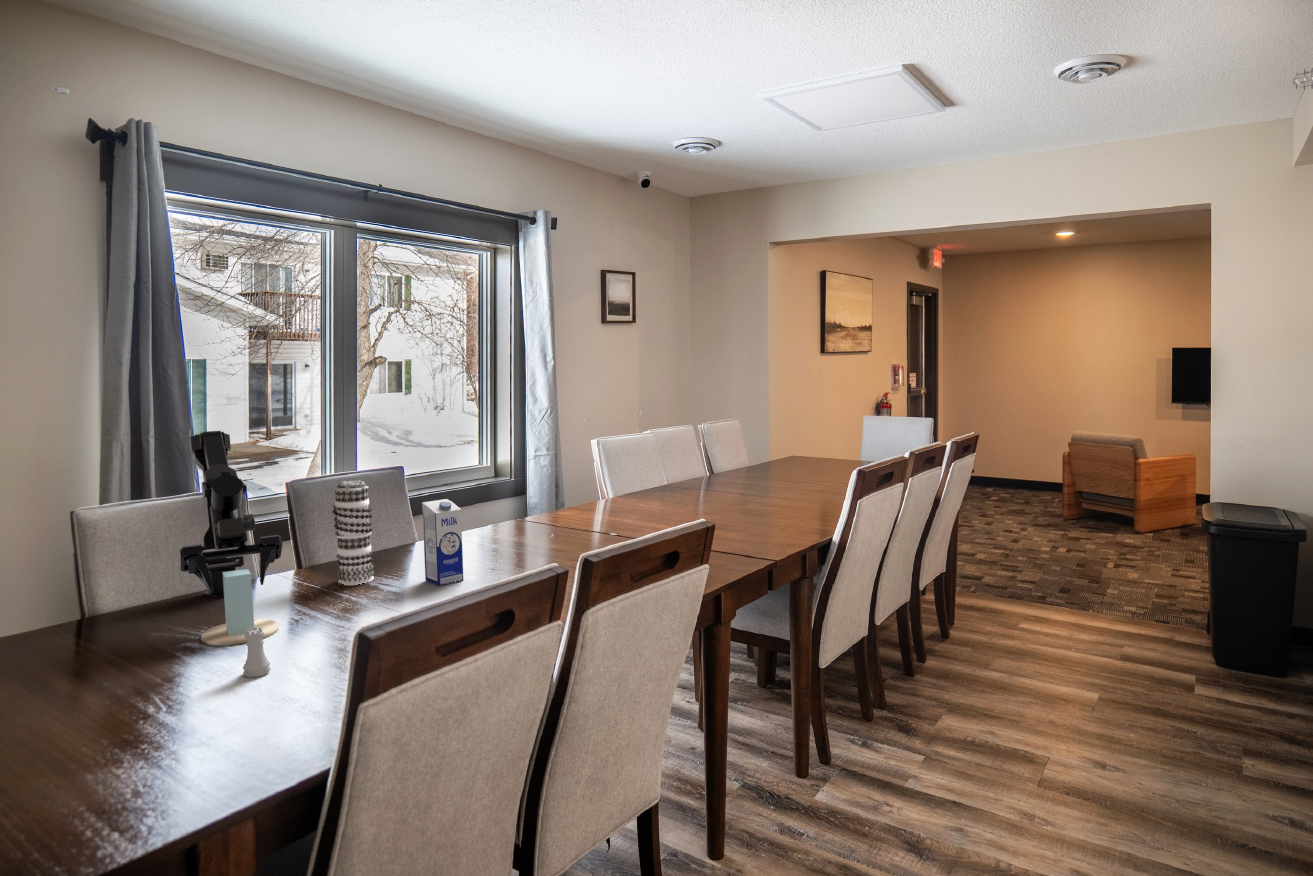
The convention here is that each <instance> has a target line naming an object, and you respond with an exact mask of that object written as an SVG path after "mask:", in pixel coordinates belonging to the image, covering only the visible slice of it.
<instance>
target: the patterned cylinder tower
mask: <svg viewBox="0 0 1313 876" xmlns="http://www.w3.org/2000/svg"><path fill="white" fill-rule="evenodd" d="M369 488H370V486H368V485H367V484H366V482H364V481H362V480H357V479H356V480H355V479H354V480H351V479H350V480H344V481H341V482H339V483H338V484H337V486H336V487H335V488H334V489H333V490H334V493H335V494H334V495H335V496H334V497H335V500H334V504H333V505H332V508H333V510H332V514H334V517H333V522H334V525H333V528H335V530H336V531H335V533H334V536H335V537H336V538H337V548H336V549H337V555H336V556H335V557H336V558H337V561H336V564H337V565H338V567H337V568H336V571H337V573H338V574H337V575H336V577H337V578H338V581H337V583H338V582H339V583H342V584H344V585H343V586H358V584H360V585H363V584H362V583H365V584H368V583H367V582H369V583H371V582H373V581H374V580H373V579H375V577H374V574H375V571H374V570H373V569H374V567H375V566H374V565H373V561H374V558H373V557H372V556H373V554H374V552H373V551H372V544H371V537H370V535H372V532H373V528H371V526H372V525H373V522H371V521H370V520H369V519H371V518H373V514H371V513H370V512H372V510H373V508H372V507H369V505H370V498H369V497H368V496H369V492H368V489H369ZM372 580H373V581H372ZM370 581H371V582H370ZM339 583H338V584H339Z"/></svg>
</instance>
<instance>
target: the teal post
mask: <svg viewBox="0 0 1313 876" xmlns="http://www.w3.org/2000/svg"><path fill="white" fill-rule="evenodd" d="M223 586H224V596H223V598H224V599H223V600H224V601H223V602H224V611H225V612H224V614H225V624H226V630H227V632H228V635H229V636H233V635H238V634H244V633H246V631H247V630H249V629H252V631H253V630H254V615H255V614H254V603H253V599H254V598H253V587H252V586H253V585H252V573H251V572H250V570H249V568H244V569H243V568H242V569H236V570H235V571H228V572H223Z"/></svg>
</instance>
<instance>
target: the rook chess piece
mask: <svg viewBox="0 0 1313 876" xmlns="http://www.w3.org/2000/svg"><path fill="white" fill-rule="evenodd" d="M264 634H265V633H264V632H263V631H262V628H259V630H257V628H254V630H253V631H252V629H249V630H247V631H246V635H245V636H244V637H245V638H246V639H247V641H248V643H245V645H246V646H247V656H246V657H247V658H246V660H245V663H244V665H243V667H242V669H243V672H242V674H243V675H244V676H245V677H246V678H247V679H248V678H249V679H251V678H252V679H253V678H260V677H265V676H266V675H268V674H269V673H270V671H271V667H270V665H271V663H270V661H269V660H268V657H266V655H265V650H264V643H265V642H264V640H263V639H262V638H263V636H264Z"/></svg>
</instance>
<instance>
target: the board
mask: <svg viewBox="0 0 1313 876" xmlns="http://www.w3.org/2000/svg"><path fill="white" fill-rule="evenodd" d="M254 628H257V630H259V628H262V631H263V632H264V633H265V634H264V636H263V638H262V640H263V639H266V637H267V638H269V637H271V636H273V635H274V633H275V632H276V631H277V630H278V631H279V629H280V628H279V623H278V622H276V621H274V620H272V619H271V620H270V619H264V618H263V619H254ZM278 631H277V632H278ZM277 632H276V633H277ZM276 633H275V634H276ZM272 634H273V635H272ZM245 635H246V633H244V634H238V635H233V636H229V635H228V632H227V630H226V623H223V624H219V625H217V626H214V627H211V628H209V629H207V630H205V631H204V632H203V633H202V634H201V636H200V638H201V642H202V643H203V644H206V645H207V646H208V645H209V646H215V647H216V646H217V647H221V646H222V647H224V646H227V647H228V646H238V645H244V644H245V645H246V644H247V643H248V641H247V639H246V638H245V637H244V636H245ZM270 635H271V636H270Z"/></svg>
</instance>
